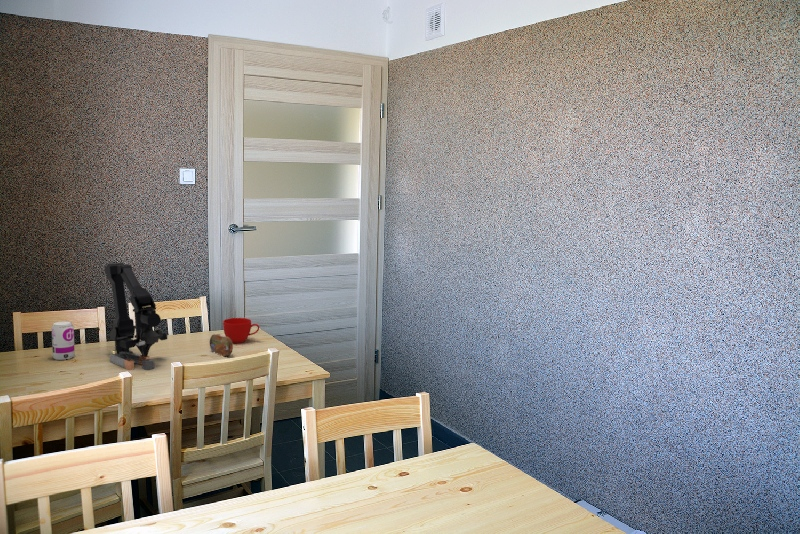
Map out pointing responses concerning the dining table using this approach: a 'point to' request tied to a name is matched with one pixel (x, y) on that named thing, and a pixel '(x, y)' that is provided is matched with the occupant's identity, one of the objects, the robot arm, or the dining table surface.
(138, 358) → the tongs jaw
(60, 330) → the supplement can
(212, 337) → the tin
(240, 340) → the ceramic cup
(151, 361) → the grey block
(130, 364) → the tongs fixed arm
